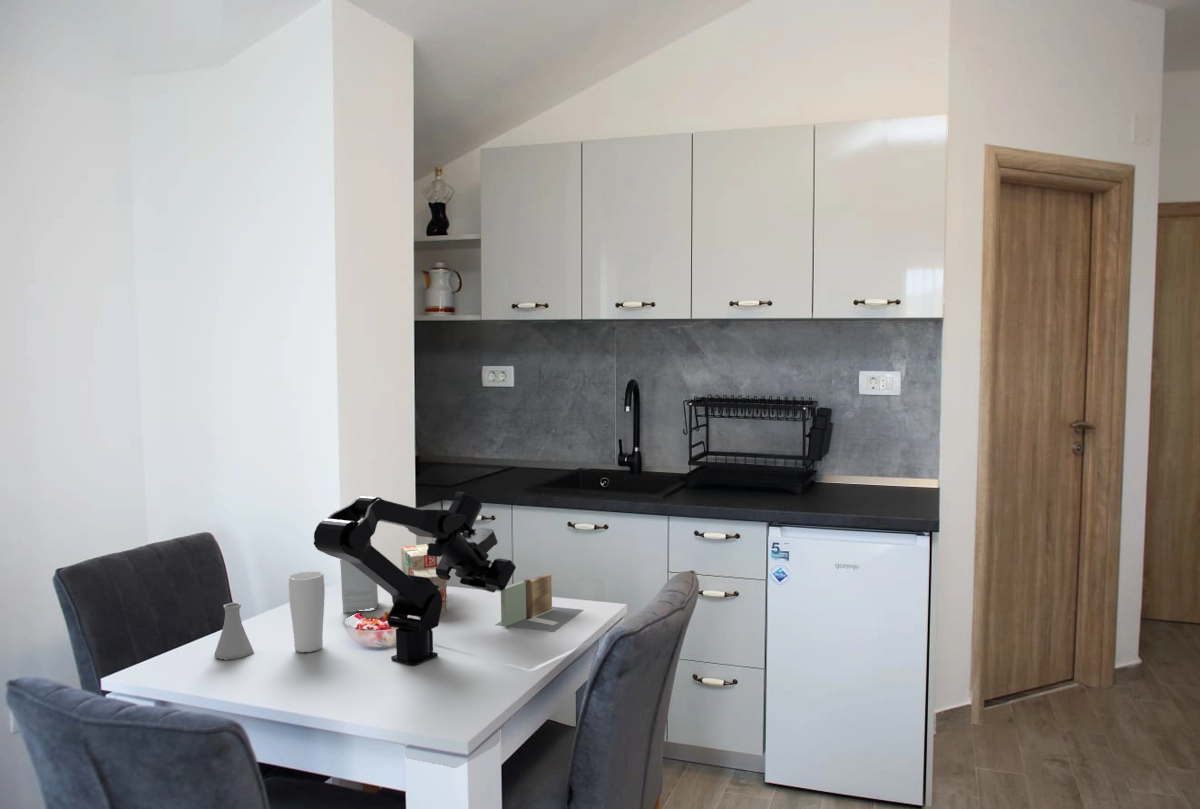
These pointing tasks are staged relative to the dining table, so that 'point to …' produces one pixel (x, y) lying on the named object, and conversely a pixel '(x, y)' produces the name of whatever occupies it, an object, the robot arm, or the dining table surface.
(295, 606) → the drinking glass
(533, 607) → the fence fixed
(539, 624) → the board
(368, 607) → the supplement box
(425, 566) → the stack of blocks
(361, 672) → the dining table surface
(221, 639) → the flask
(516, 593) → the fence hinged panel
